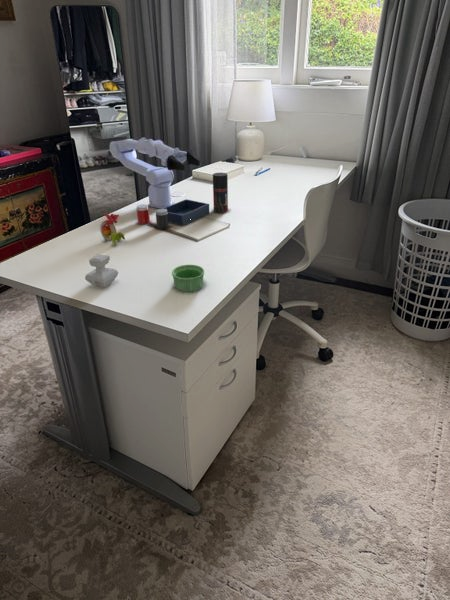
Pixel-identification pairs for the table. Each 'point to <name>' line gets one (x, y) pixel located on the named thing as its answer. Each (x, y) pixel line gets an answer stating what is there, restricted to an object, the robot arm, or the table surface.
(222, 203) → the deodorant
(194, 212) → the bin
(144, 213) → the salt shaker
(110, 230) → the bird rattle
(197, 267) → the ramekin
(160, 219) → the pepper shaker
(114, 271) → the stamp
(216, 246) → the table surface
